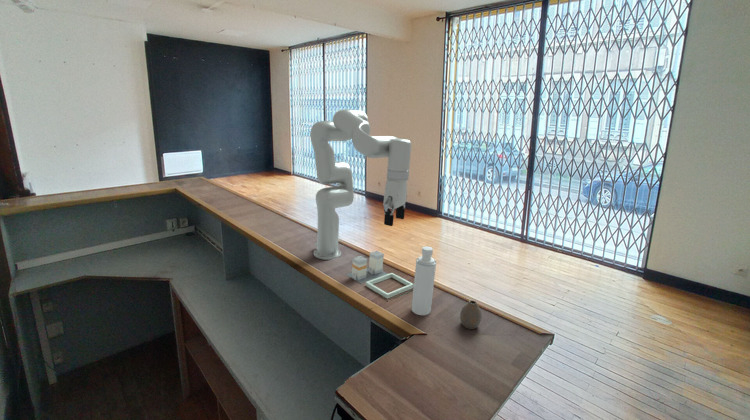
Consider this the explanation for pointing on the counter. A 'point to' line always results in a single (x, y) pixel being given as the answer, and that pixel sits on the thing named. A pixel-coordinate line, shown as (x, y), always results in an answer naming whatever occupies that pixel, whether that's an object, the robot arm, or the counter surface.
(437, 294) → the counter surface
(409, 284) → the tray
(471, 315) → the vase
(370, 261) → the block
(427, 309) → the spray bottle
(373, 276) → the block
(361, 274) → the block
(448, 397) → the counter surface
